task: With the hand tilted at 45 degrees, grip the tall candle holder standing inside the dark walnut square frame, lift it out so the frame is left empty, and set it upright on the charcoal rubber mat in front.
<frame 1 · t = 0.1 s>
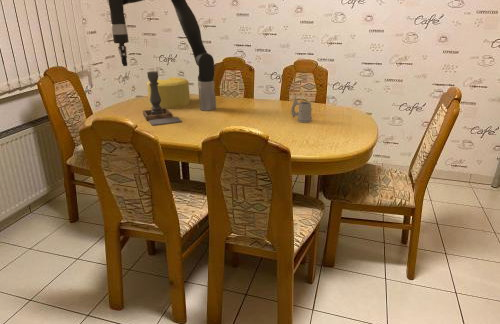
hand: (124, 65, 203), 29 cm above the table, tool pointing down, fingers open, 8 cm apart
rubber mat: (165, 121, 206), on the table
walnut frame: (157, 116, 216), on the table
cheese: (169, 103, 245), on the table
candle holder: (157, 116, 216), resting in walnut frame
mug: (300, 120, 205), on the table
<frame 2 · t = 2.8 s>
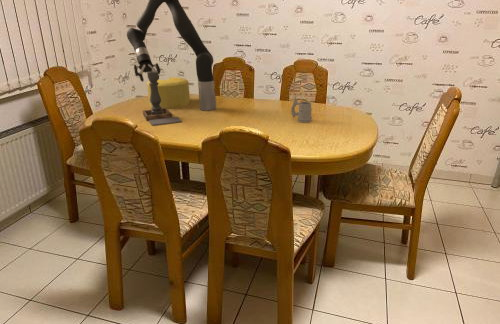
hand: (150, 80, 214), 20 cm above the table, tool tilted 45°, fingers open, 8 cm apart
nothing on the table moved.
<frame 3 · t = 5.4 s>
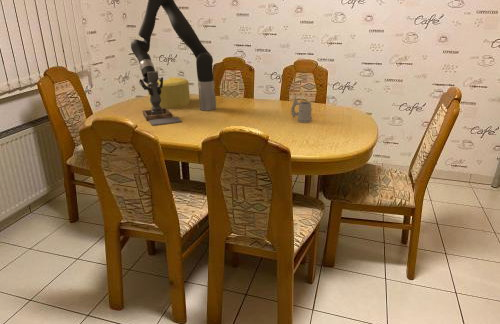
hand: (155, 94, 210), 13 cm above the table, tool tilted 45°, fingers closed on candle holder, 4 cm apart
candle holder: (157, 116, 216), resting in walnut frame, touching gripper
everything else where it was.
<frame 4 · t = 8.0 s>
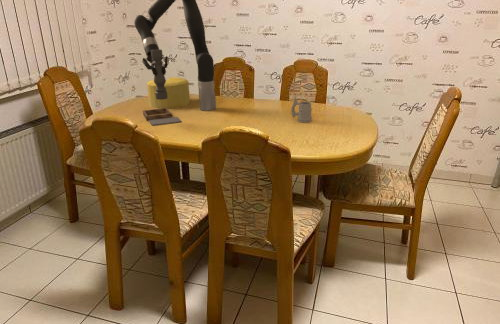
hand: (160, 74, 196), 26 cm above the table, tool tilted 45°, fingers closed on candle holder, 4 cm apart
candle holder: (161, 98, 202), point 12 cm above the table, touching gripper
everything else where it was.
when the fingers open (15 cm above the table, at t = 10.7 s): candle holder stays where it is, resting on rubber mat.
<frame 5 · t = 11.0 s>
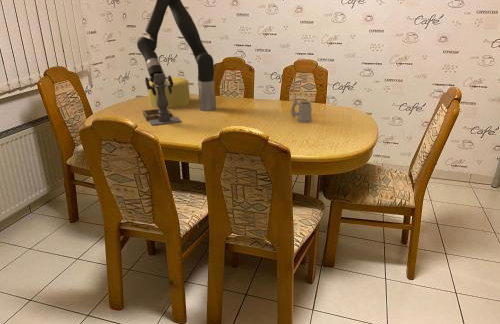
hand: (163, 93, 199), 16 cm above the table, tool tilted 45°, fingers open, 7 cm apart
candle holder: (164, 120, 206), resting on rubber mat
everything else where it was.
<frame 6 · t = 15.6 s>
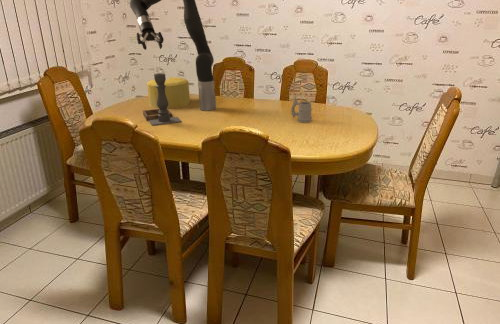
hand: (153, 48, 210), 37 cm above the table, tool tilted 45°, fingers open, 8 cm apart
nothing on the table moved.
at the end: candle holder inside the target area on the rubber mat (0.4 cm from its centre), point 0.4 cm above the rubber mat's base; candle holder tilted 0°; the gripper is holding nothing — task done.
